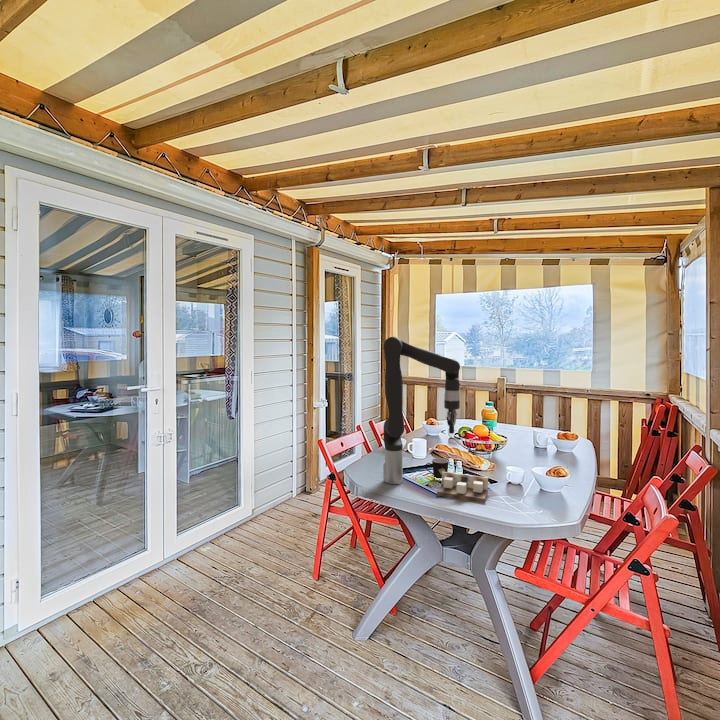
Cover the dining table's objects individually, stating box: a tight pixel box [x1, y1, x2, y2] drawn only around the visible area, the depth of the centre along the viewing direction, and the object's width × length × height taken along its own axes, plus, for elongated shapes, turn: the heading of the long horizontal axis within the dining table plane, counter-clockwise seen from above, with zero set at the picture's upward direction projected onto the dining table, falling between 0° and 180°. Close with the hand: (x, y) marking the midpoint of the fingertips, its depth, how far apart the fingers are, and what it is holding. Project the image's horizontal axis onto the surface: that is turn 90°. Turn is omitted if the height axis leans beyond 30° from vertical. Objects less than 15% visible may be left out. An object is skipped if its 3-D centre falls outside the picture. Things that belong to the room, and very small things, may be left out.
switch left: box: [444, 477, 454, 489], centre depth 202 cm, size 4×4×4 cm
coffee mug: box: [424, 457, 449, 478], centre depth 220 cm, size 12×9×10 cm
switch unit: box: [436, 471, 489, 504], centre depth 198 cm, size 22×12×8 cm, turn 67°
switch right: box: [473, 481, 483, 493], centre depth 197 cm, size 4×4×4 cm
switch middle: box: [456, 482, 467, 494], centre depth 195 cm, size 4×4×4 cm
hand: (451, 433), depth 209 cm, fingers closed
